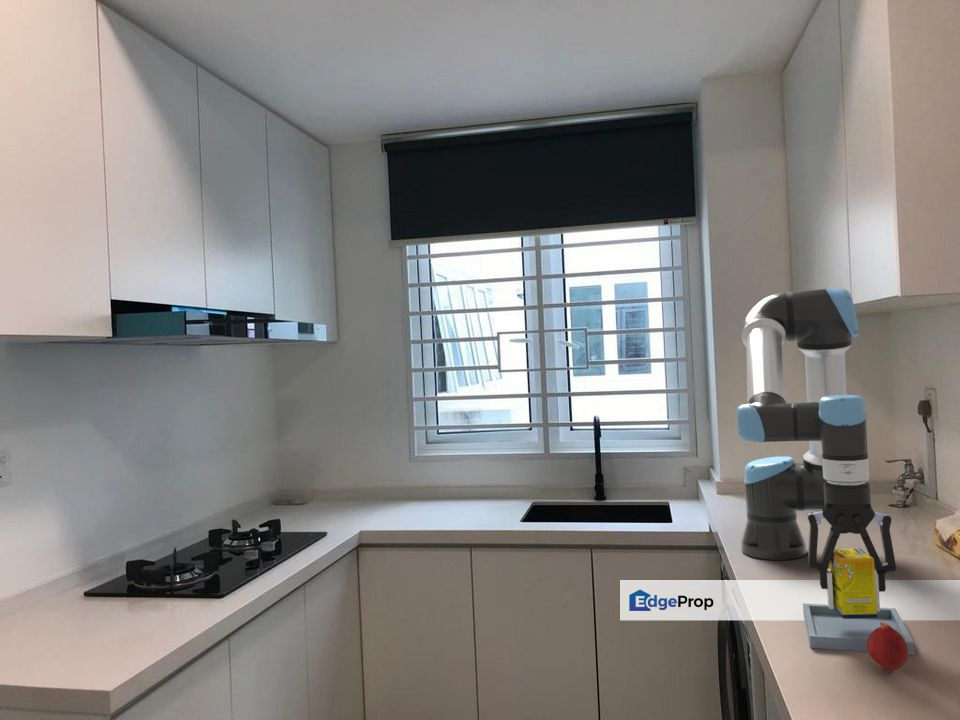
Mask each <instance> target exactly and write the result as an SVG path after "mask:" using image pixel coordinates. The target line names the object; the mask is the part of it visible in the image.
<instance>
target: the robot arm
mask: <svg viewBox="0 0 960 720" xmlns="http://www.w3.org/2000/svg"><path fill="white" fill-rule="evenodd" d="M855 308H856V307H855V305H854V301H853V298H852V294H851V293H850V292H849V291H848V290H847V289H846V288H819V289H808V290H799V291H790V292H789V291H788V292H787V291H786V292H785V291H784V292H783V291H782V292H777V293H774V294H771V295H768V296H766V297H764V298H763V299H761V300H760V301H759V302H758V303H756V304H755V305H754V306H753V307H752V308H751V309H750V310H749V312H748V313H747V315H745V316H746V317H745V318H744V320H743V323H742V326H741V340H742V344H743V345H744V346H745V348H746V385H747V386H746V388H747V389H746V390H747V391H746V392H747V393H746V395H747V398H746V399H747V403H746V404H739V405H738V406H737V409H736V416H737V417H736V420H737V432H738V437H739V439H740V440H741V441H743V442H755V443H757V442H758V443H771V442H775V443H776V442H808V446H809V447H808V451H806V452H805V453H804V454H803V456H802V461H803V462H795V460H794V458H793V457H792V456H780V455H779V456H770V457H764V458H759V459H755V460H751V461H750V462H748V463H747V464H746V466H745V467H744V480H743V483H744V485H745V500H746V501H745V502H746V504H745V506H746V523H745V527H744V531H743V533H742V534H743V535H742V538H741V542H740V543H741V544H740V545H741V552H742V553H743V554H745V555H747V556H748V557H749V556H750V557H753V558H756V559H763V560H772V561H777V560H778V561H779V560H780V561H785V560H786V561H787V560H794V559H798V558H802V557H805V556H806V555H807V543H806V540H805V538H804V536H803V532H802V530H801V528H800V525H799V523H798V518H797V511H799V512H801V511H802V512H803V511H804V512H807V513H806V516H807V517H806V518H807V520H808V523H809V535H808V536H809V537H808V555H807V562H808V566H809V568H810V569H815V570H818V572H819V573H818V574H819V585H820V588H821V590H826V599H827V601H826V602H827V605H828V606H829V609H834V604H833V586H832V573H831V570H830V569H829V563H830V560H831V558H832V555H833V552H834V549H836V546H837V542H838V540H839V538H840V536H841V535H842V534H849V533H850V534H854V535H860V537H861V539H862V542H863V544H864V546H865V548H866V551H867V554H868V555H869V556H870V557H873V558H874V568H875V589H876V608H877V611H879V612H880V608H881V602H880V592H882V593H883V592H884V593H885V592H886V590H887V589H886V574H887V573H889V572H895V571H896V570H897V564H896V558H895V554H894V552H895V551H894V547H893V542H892V536H891V530H890V528H891V525H892V517H891V516H890V514H889V513H888V512H883V513H880V512H876V511H874V509H873V507H872V500H871V499H872V498H871V484H870V483H869V482H868V481H869V479H870V468H869V454H868V433H867V432H868V431H867V417H868V414H867V410H866V403H865V398H864V397H862V396H861V395H854V394H847V378H846V375H847V374H846V356H845V355H846V352H847V351H848V350H849V349H850V348H851V347H852V339H856V338H858V337H859V324H858V319H857V314H856V309H855ZM785 342H796V345H797V349H798V350H799V351H800V352H802V354H803V355H804V365H805V366H804V367H805V369H804V370H805V385H806V386H805V387H806V402H787V393H786V392H787V391H786V380H785V367H784V356H783V355H784V354H783V345H784V343H785ZM823 518H824V519H825V520H826V521H827V522H828V524H829V526H830V529H829V533H828V537H827V540H826V542H825V544H824V545H825V546H824V549H823V551H822V554H821V556H820V560H817V557H818V556H817V555H818V541H819V525H821V524H822V520H823ZM873 519H875V522H876V524H877V525H878V526H879V531H880V536H881V542H882V549H883V554H884V558H885V559H884V561H885V562H882V561H881V558H880V557H879V555H878V553H877V551H876V548H875V546H874V544H873V541H872V540H871V536H870V535H869V533H868V531H867V527H868V526H869V525H870V524H871V523H872V521H873Z"/></svg>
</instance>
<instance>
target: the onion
mask: <svg viewBox="0 0 960 720" xmlns="http://www.w3.org/2000/svg"><path fill="white" fill-rule="evenodd" d="M880 624H881V627H879V628H877V629H875V630H874V631H873V632H872V633H871V634H870V636H869V637H868V639H867V644H866V646H867V651H868V652H867V654H868V655H869V657H870V658H871V660H872V661H874V663H875V664H877V665H878V666H879V667H881V668H882V670H884V671H885V672H888V673H890V672H893V671H895V670H898V669H900V668H901V667H902V666H903V665H904V664H905V663H906V662H907V660H908V658H909V655H908V647H907V644H906V642H905V640H904V638H903V637H902V636H901V634H900V633H899V632H897V631H896V630H895V629H893V628H892V627H891V626H890V625H888V624H887V623H886V622H881V623H880Z"/></svg>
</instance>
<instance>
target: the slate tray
mask: <svg viewBox="0 0 960 720" xmlns="http://www.w3.org/2000/svg"><path fill="white" fill-rule="evenodd" d="M802 611H803V612H802V613H803V618H804V623H805V628H806V634H807V639H808V643H809V648H811V649H820V650H822V649H823V650H834V649H835V651H847V650H848V651H851V652H864V653H868V651H867V646H866V644H867V639H868V637H869V636H870V634H871V633H872V632H873V631H874V630H875V629H877V628H879V627H881V624H880V623H881V622H886V623H887V624H888V625H890V626H891V627H892V628H893V629H895V630H896V631H897V632H899V633H900V634H901V636H902V637H903V638H904V640H905V642H906V644H907V647H908V656H915V653H916V651H915V642H914V640H913V638H912V636H911V635H910V633H909V631H908V629H907V627H906V625H905V623H904V622H903V619H902V618H901V616H900V614H899V612H898V611H897V608H894V607H893V608H892V607H880V612H879V611H877V618H862V619H843V618H842V617H841V616H840V614H839V613H838V612H837V611H836V610H835V609H829V606H828V604H820V603H818V604H817V603H802Z"/></svg>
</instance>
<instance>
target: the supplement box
mask: <svg viewBox="0 0 960 720" xmlns="http://www.w3.org/2000/svg"><path fill="white" fill-rule="evenodd" d="M828 569H830V570H831V573H832V586H833V604H834V609H835V610H836V611H837V612H838V613H839V614H840V616H841V617H842V618H843V619H862V618H877V608H876V589H875V571H876V568H875V566H874V558H873V557H870V555H869V553H868V552H867V553H866V551H864V550H863V549H862V548H858V547H857V548H835V549H834V552H833V555H832V558H831V560H830V563H829V566H828Z"/></svg>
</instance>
